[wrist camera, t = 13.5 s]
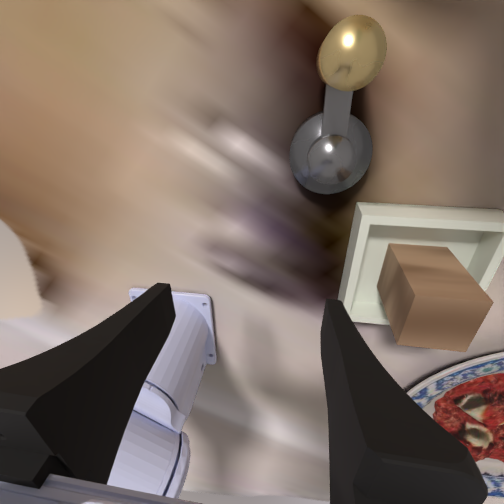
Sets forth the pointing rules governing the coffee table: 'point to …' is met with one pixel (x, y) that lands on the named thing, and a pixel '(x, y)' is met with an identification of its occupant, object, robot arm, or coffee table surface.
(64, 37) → the coffee table surface
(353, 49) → the brass cylinder knob
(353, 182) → the disc
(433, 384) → the ceramic plate
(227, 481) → the coffee table surface
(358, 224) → the tray
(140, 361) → the robot arm
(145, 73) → the coffee table surface
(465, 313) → the block
